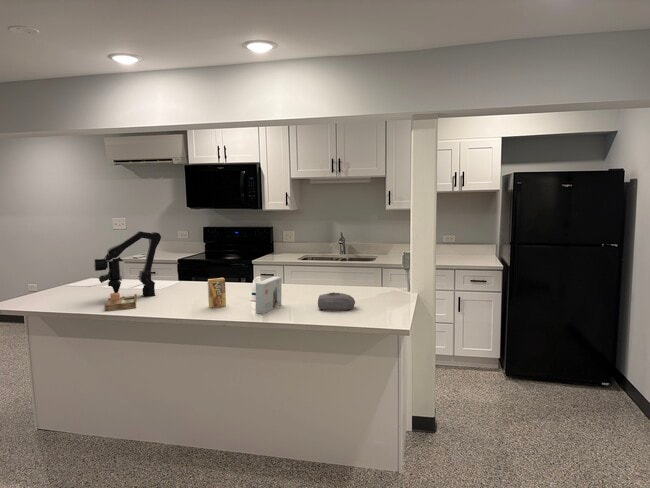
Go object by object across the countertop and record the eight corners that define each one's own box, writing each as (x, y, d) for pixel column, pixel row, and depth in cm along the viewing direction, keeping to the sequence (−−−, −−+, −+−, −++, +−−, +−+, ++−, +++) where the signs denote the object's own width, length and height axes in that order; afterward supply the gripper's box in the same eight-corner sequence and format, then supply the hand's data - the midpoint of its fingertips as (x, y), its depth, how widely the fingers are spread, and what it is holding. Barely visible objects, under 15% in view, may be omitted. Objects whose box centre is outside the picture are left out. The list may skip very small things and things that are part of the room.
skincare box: (264, 314, 230) (263, 283, 228) (255, 313, 232) (254, 283, 230) (282, 304, 250) (281, 276, 248) (273, 303, 252) (272, 275, 250)
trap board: (136, 299, 268) (136, 293, 268) (135, 308, 247) (135, 302, 246) (109, 301, 263) (108, 296, 262) (105, 311, 241) (105, 305, 241)
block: (119, 298, 263) (119, 292, 262) (119, 299, 258) (119, 294, 258) (111, 298, 261) (110, 293, 261) (110, 300, 257) (110, 295, 256)
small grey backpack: (316, 311, 234) (354, 312, 232) (316, 296, 233) (354, 296, 231) (319, 304, 249) (355, 305, 247) (319, 289, 248) (355, 290, 246)
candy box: (224, 304, 252) (223, 277, 250) (226, 306, 248) (225, 278, 246) (208, 306, 248) (207, 279, 246) (210, 308, 244) (208, 280, 242)
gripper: (100, 267, 271) (102, 293, 273) (97, 272, 253) (99, 300, 255) (121, 266, 275) (122, 291, 276) (119, 271, 257) (120, 298, 259)
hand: (116, 295), depth 267 cm, fingers closed
